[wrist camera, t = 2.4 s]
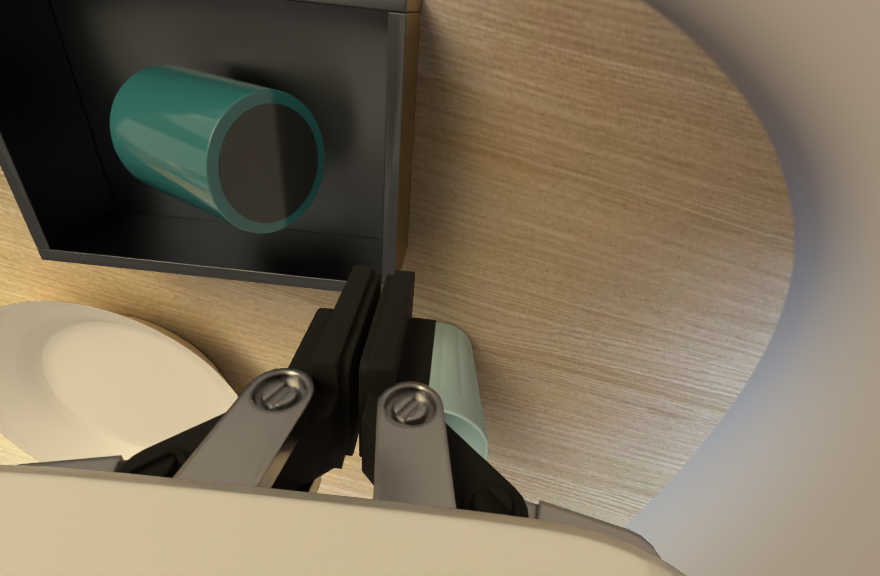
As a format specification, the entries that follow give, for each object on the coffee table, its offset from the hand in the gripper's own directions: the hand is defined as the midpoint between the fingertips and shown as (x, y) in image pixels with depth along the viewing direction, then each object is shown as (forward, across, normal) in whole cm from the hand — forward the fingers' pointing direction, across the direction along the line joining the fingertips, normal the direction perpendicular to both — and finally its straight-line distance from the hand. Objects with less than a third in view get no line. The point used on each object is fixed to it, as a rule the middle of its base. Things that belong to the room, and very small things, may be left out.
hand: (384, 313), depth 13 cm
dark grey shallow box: (+19, +12, 0) cm, 22 cm away
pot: (+15, +14, 0) cm, 21 cm away
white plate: (+19, +26, +26) cm, 41 cm away
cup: (+19, -2, +17) cm, 26 cm away
